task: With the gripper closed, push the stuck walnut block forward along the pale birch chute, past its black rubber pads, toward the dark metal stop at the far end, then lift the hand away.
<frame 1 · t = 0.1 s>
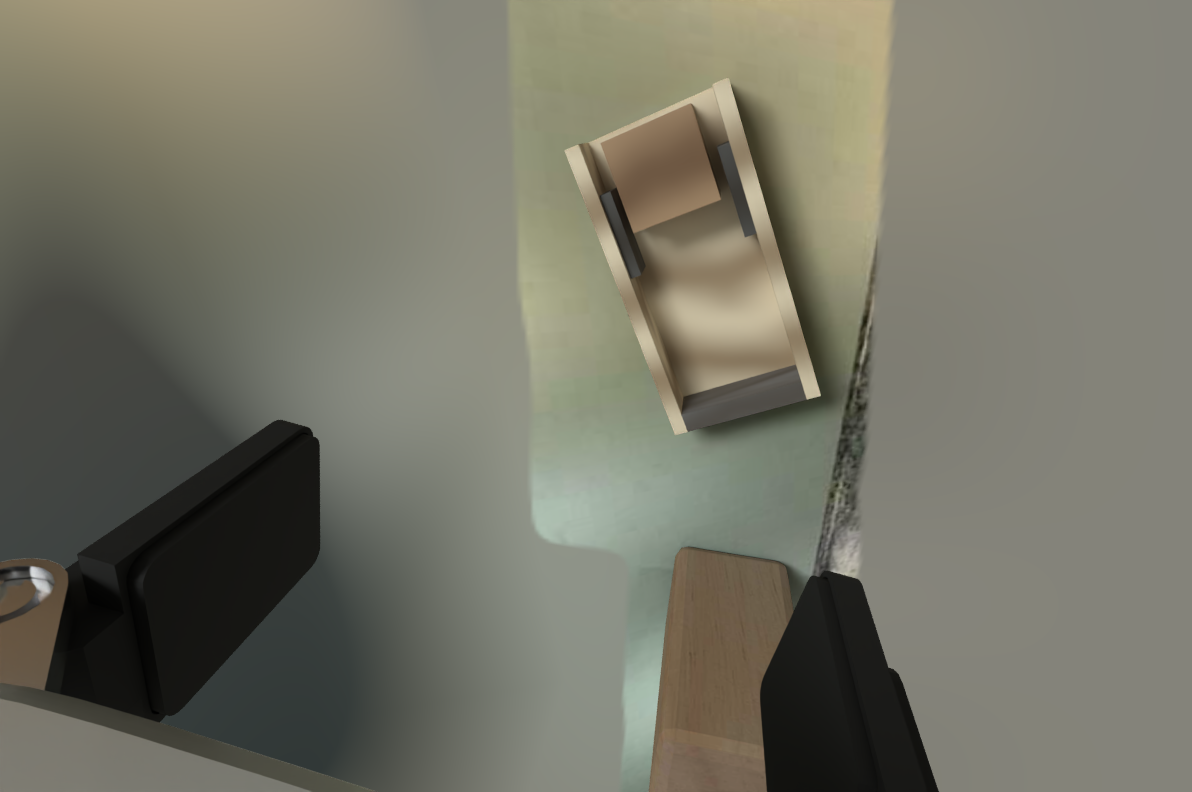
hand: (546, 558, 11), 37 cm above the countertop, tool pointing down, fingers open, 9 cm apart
chute: (699, 266, 45), on the countertop
block: (724, 590, 57), on the countertop
jammed block: (663, 169, 40), point 3 cm above the countertop, slide at 0.0 cm
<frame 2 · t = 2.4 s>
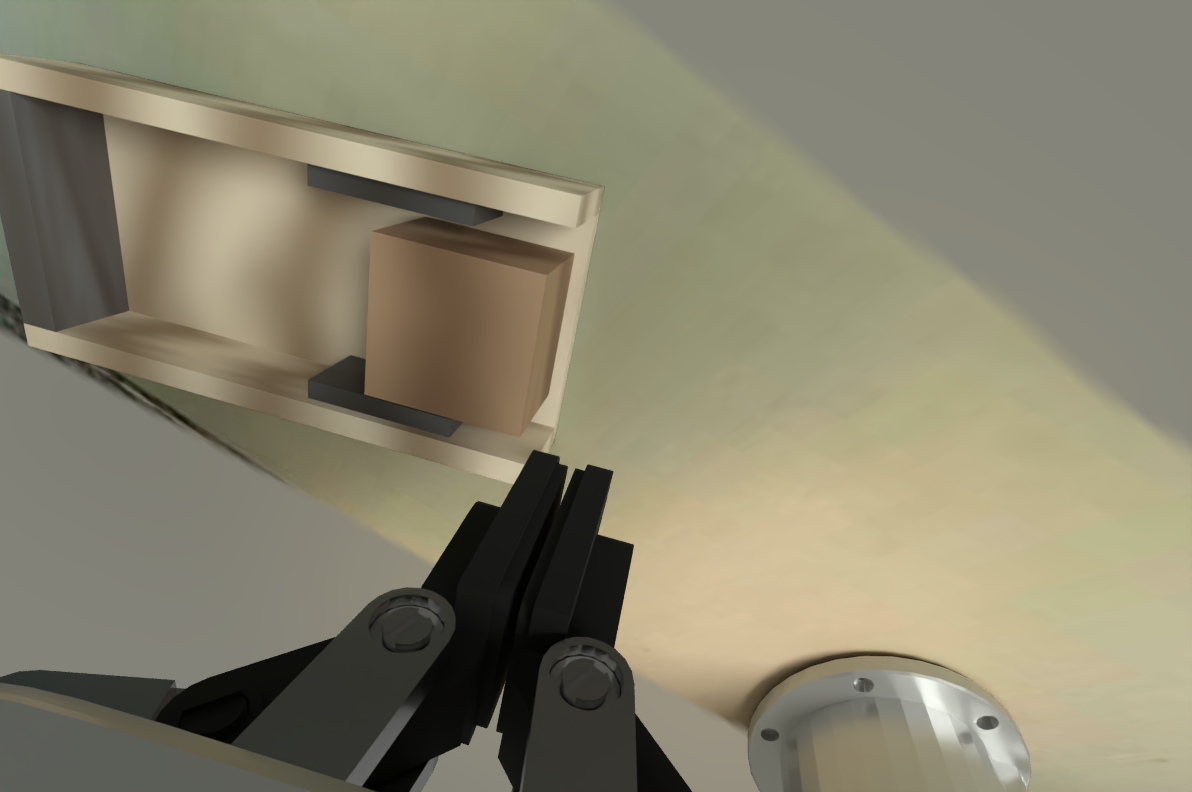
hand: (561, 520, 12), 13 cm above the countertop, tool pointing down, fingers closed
chute: (328, 261, 26), on the countertop
jammed block: (470, 323, 22), point 3 cm above the countertop, slide at 0.0 cm
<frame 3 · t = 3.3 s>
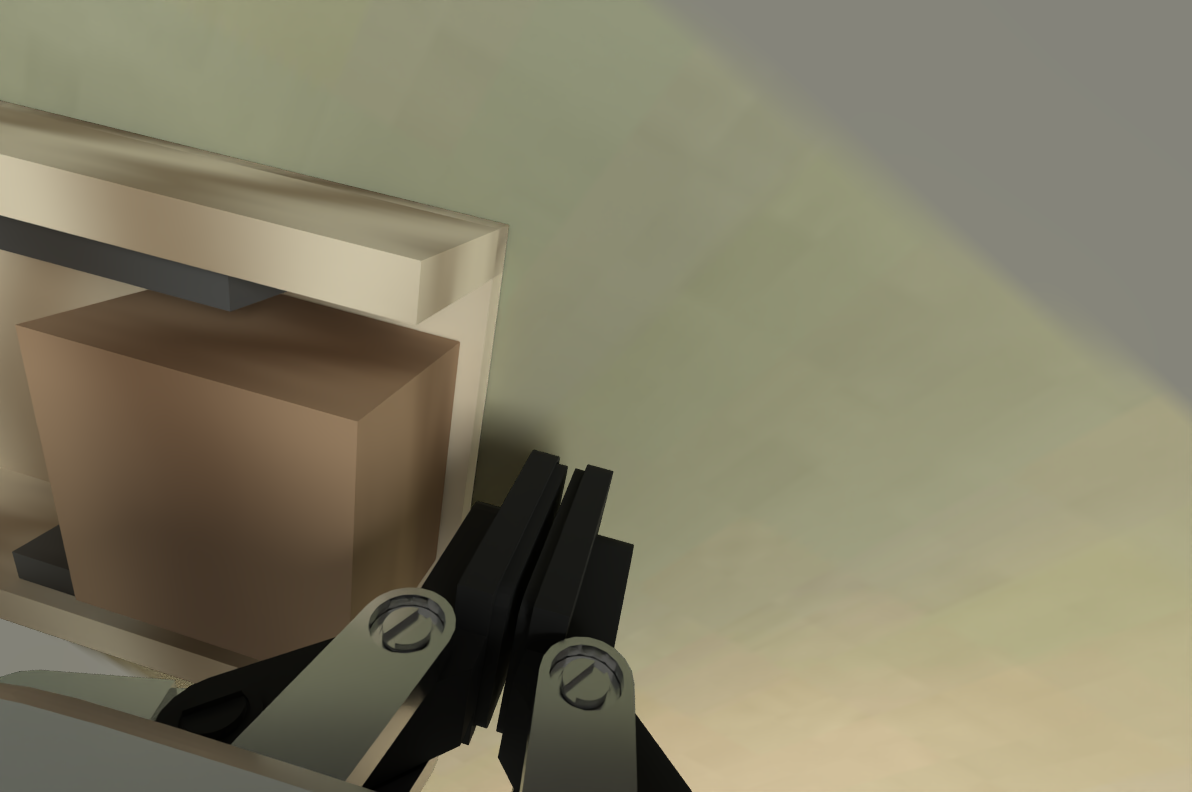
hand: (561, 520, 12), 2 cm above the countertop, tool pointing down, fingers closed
chute: (78, 339, 16), on the countertop
jammed block: (272, 468, 13), point 3 cm above the countertop, slide at 0.0 cm
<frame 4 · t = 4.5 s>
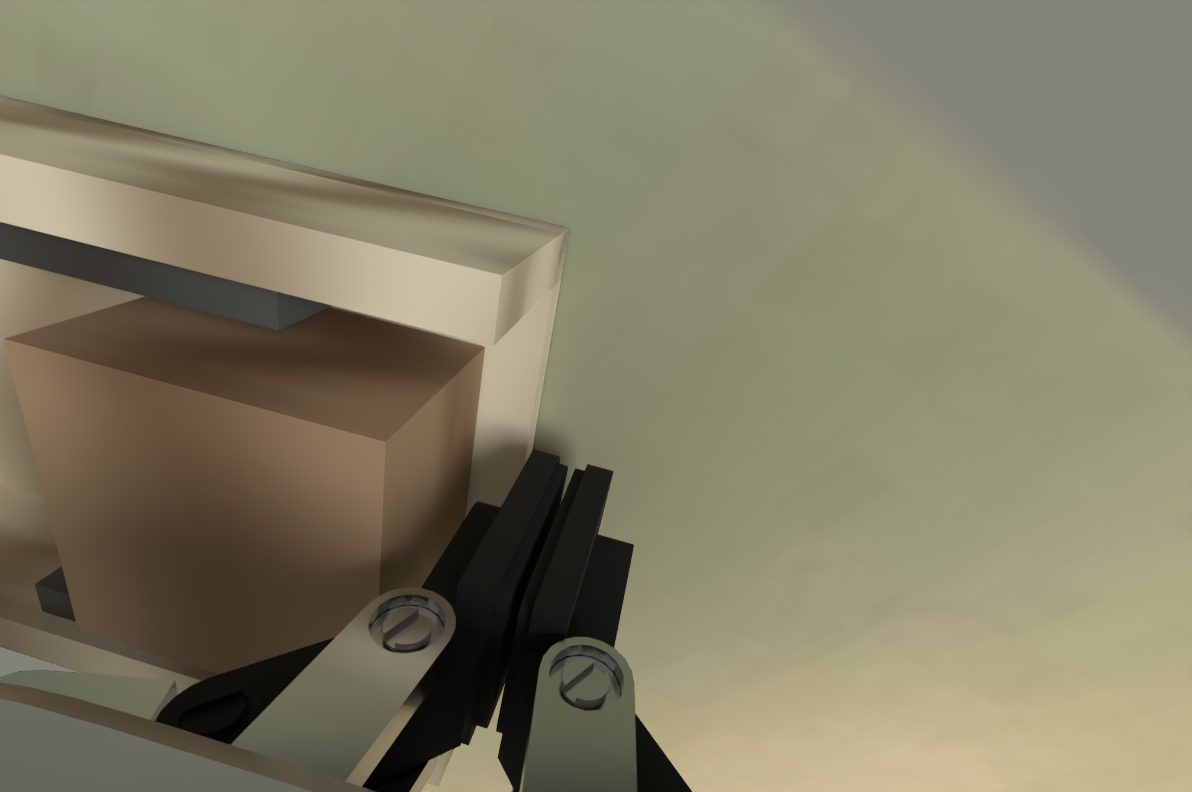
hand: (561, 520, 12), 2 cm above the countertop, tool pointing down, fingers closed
chute: (97, 353, 15), on the countertop
jammed block: (285, 485, 12), point 3 cm above the countertop, slide at 0.6 cm, touching gripper
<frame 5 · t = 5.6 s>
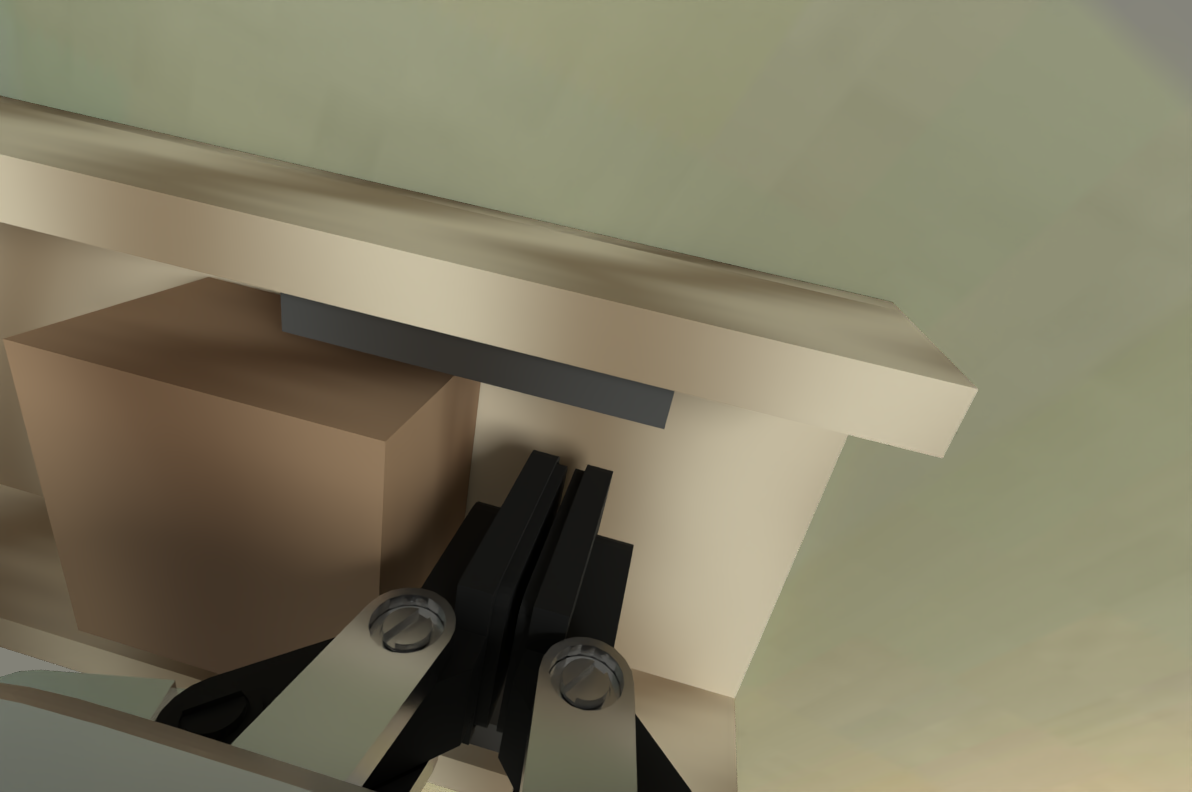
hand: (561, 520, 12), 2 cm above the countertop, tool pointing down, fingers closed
chute: (328, 415, 14), on the countertop
jammed block: (285, 485, 12), point 3 cm above the countertop, slide at 6.7 cm, touching gripper
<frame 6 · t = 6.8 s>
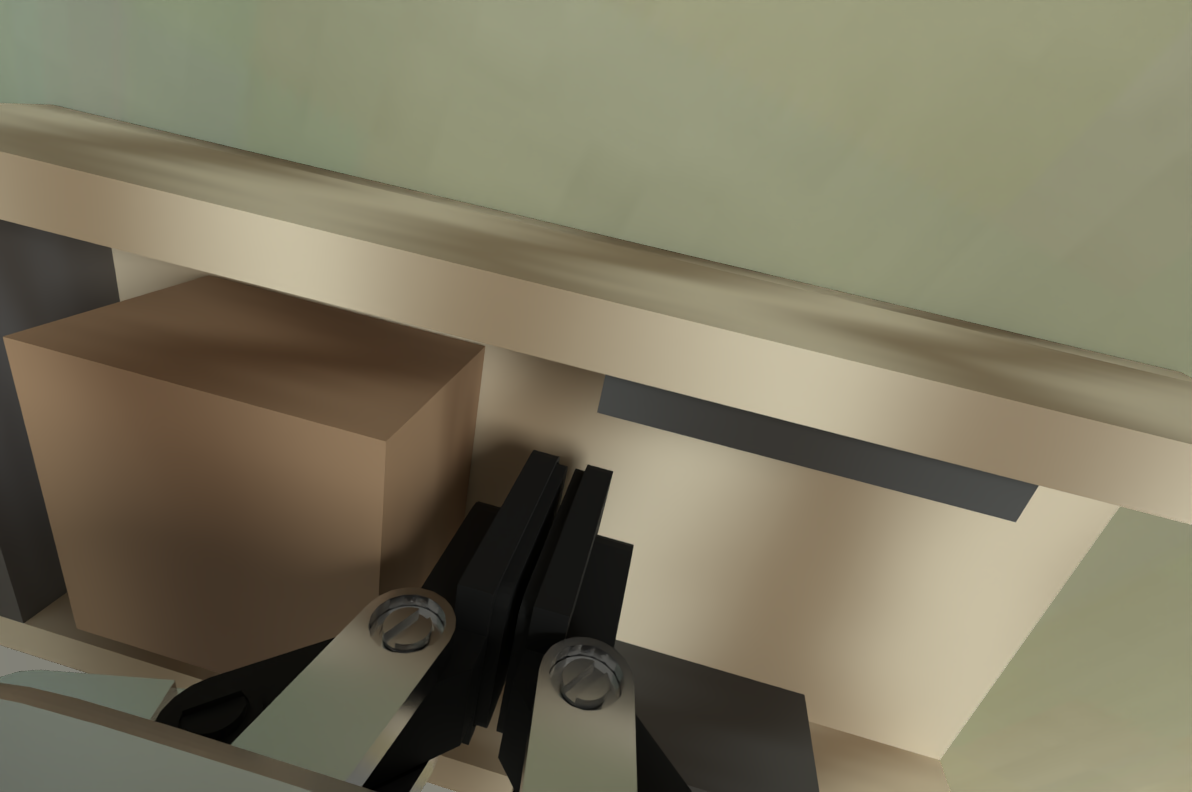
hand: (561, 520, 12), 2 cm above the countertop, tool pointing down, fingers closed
chute: (530, 469, 14), on the countertop
jammed block: (285, 484, 12), point 3 cm above the countertop, slide at 11.7 cm, touching gripper
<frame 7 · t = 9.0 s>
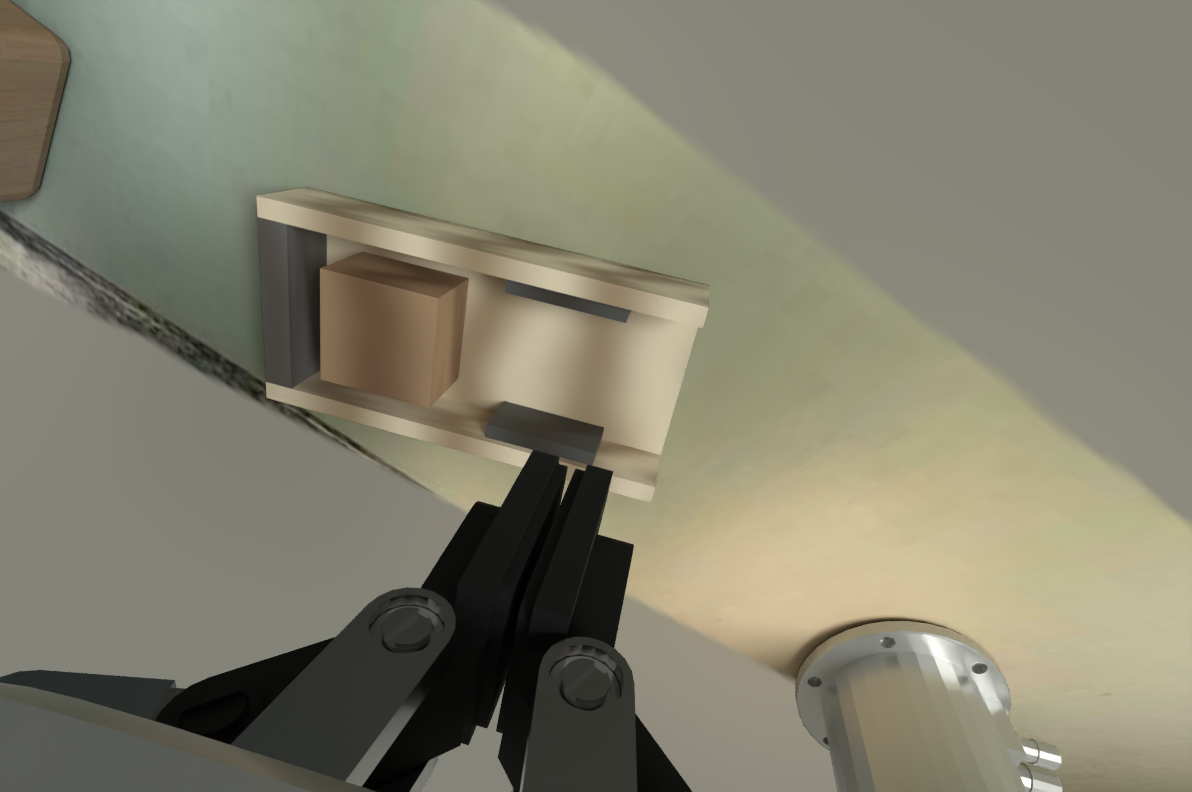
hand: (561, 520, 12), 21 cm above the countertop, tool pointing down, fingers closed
chute: (490, 332, 34), on the countertop
jammed block: (395, 328, 32), point 3 cm above the countertop, slide at 11.8 cm
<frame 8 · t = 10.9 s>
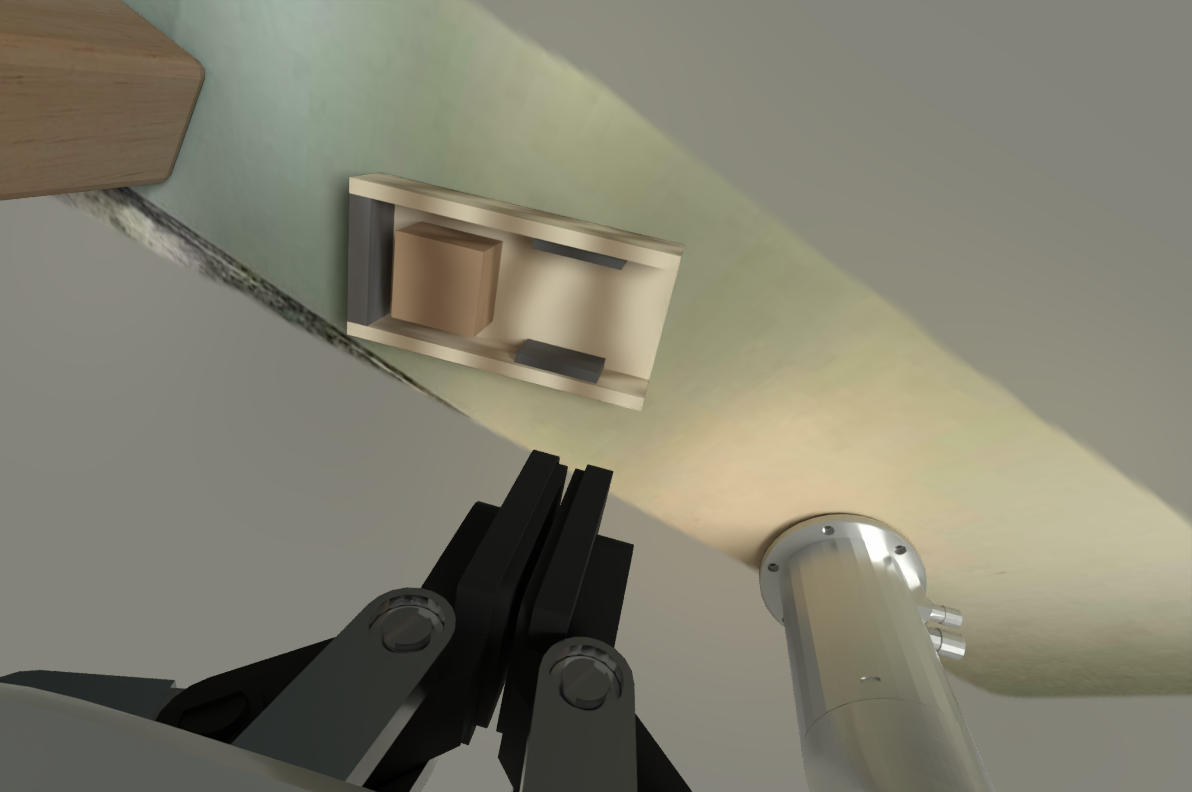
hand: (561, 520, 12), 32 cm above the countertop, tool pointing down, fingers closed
chute: (518, 284, 44), on the countertop
block: (135, 84, 44), on the countertop
jammed block: (447, 278, 42), point 3 cm above the countertop, slide at 11.8 cm
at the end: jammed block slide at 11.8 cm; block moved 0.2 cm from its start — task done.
